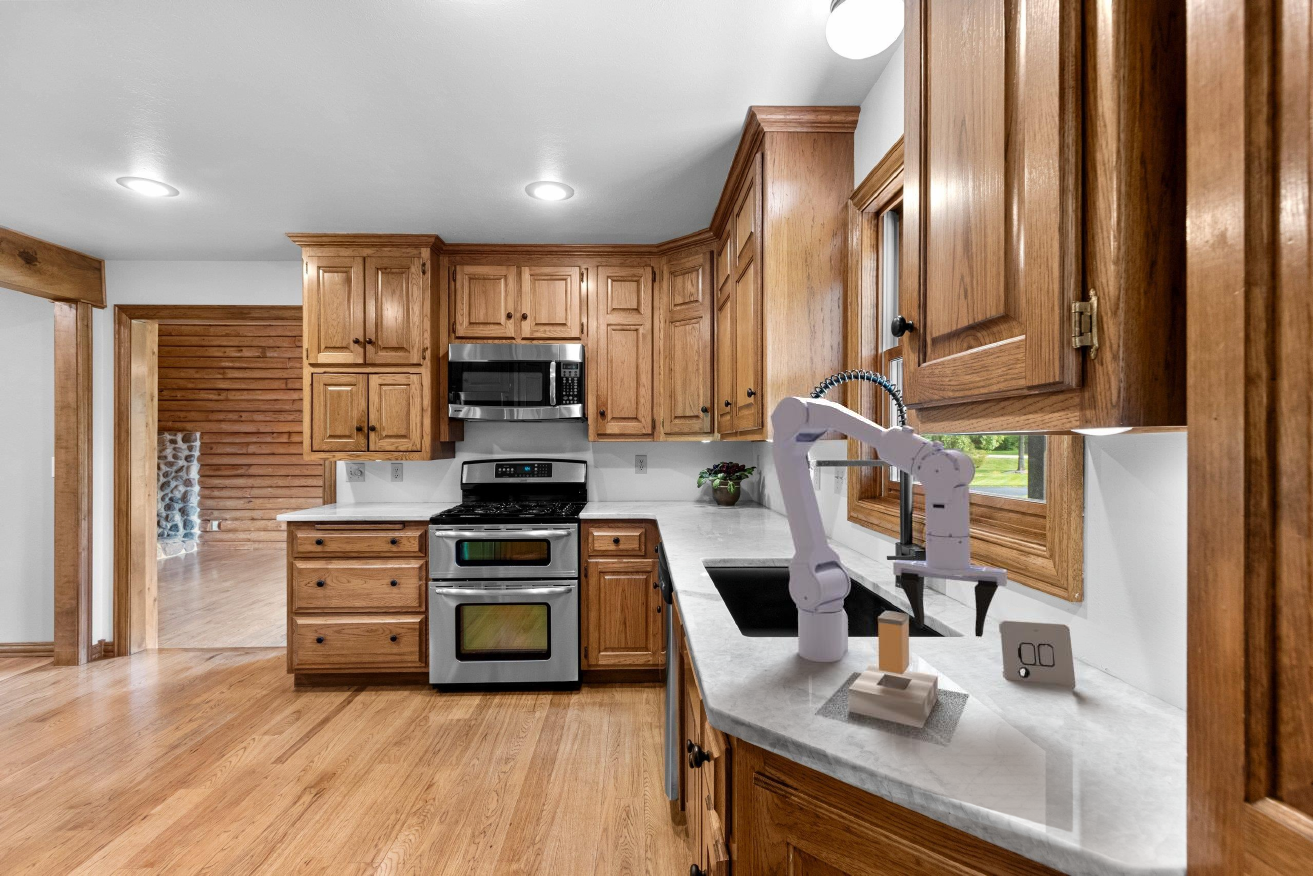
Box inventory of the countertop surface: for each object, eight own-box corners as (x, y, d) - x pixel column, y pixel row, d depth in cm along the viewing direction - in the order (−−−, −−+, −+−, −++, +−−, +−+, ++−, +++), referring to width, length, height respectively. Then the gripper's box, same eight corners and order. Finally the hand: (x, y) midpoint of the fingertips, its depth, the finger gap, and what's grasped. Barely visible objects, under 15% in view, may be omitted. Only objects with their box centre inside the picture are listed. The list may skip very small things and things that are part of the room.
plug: (886, 661, 87) (885, 610, 87) (909, 665, 85) (909, 613, 85) (878, 670, 84) (877, 617, 84) (902, 674, 82) (902, 621, 82)
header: (854, 678, 96) (854, 652, 96) (969, 701, 88) (969, 673, 88) (813, 722, 81) (813, 691, 81) (948, 756, 73) (947, 721, 73)
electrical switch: (1004, 686, 93) (1002, 622, 94) (996, 677, 98) (994, 616, 99) (1077, 693, 90) (1074, 627, 91) (1064, 683, 95) (1061, 621, 96)
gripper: (887, 534, 90) (888, 629, 90) (1002, 542, 82) (1004, 646, 81) (899, 528, 96) (900, 618, 95) (1007, 535, 88) (1009, 633, 87)
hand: (949, 630), depth 89 cm, fingers open, 7 cm apart
